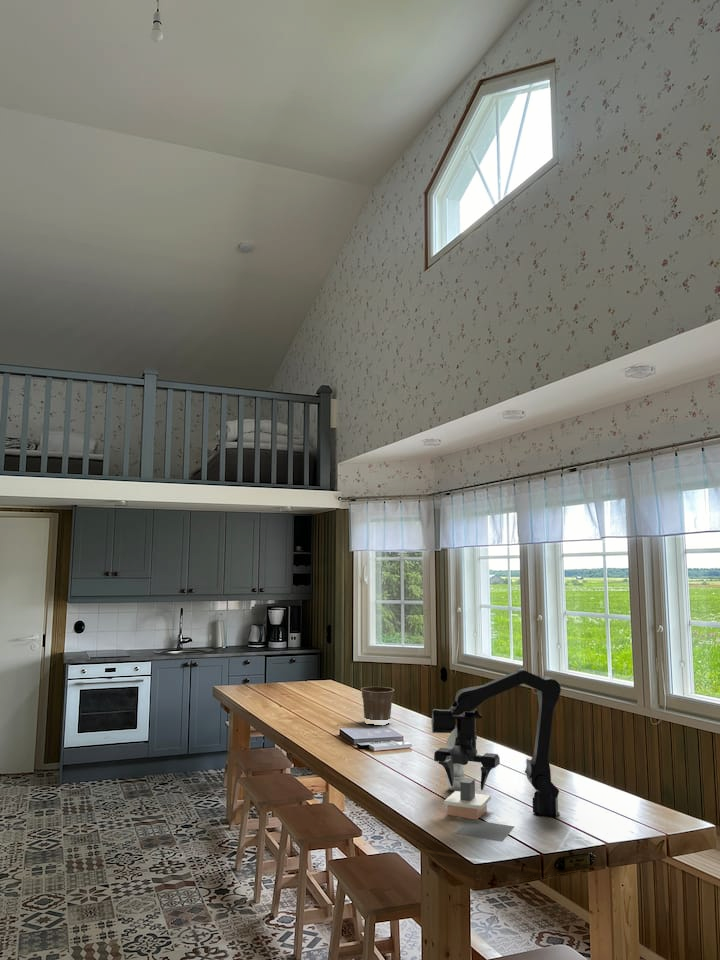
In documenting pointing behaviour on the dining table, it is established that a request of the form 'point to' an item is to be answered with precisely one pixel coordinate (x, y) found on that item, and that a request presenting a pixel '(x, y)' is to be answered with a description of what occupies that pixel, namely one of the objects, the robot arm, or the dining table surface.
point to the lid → (467, 796)
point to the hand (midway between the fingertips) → (467, 787)
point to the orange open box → (466, 812)
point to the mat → (485, 830)
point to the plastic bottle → (457, 767)
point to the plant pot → (377, 702)
